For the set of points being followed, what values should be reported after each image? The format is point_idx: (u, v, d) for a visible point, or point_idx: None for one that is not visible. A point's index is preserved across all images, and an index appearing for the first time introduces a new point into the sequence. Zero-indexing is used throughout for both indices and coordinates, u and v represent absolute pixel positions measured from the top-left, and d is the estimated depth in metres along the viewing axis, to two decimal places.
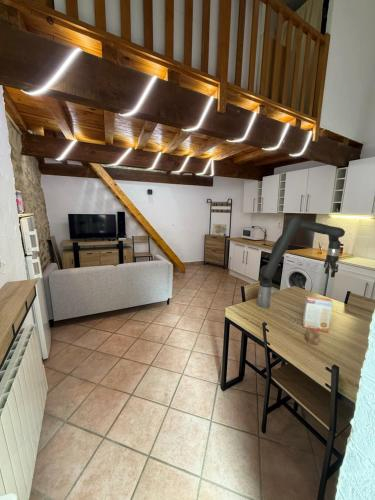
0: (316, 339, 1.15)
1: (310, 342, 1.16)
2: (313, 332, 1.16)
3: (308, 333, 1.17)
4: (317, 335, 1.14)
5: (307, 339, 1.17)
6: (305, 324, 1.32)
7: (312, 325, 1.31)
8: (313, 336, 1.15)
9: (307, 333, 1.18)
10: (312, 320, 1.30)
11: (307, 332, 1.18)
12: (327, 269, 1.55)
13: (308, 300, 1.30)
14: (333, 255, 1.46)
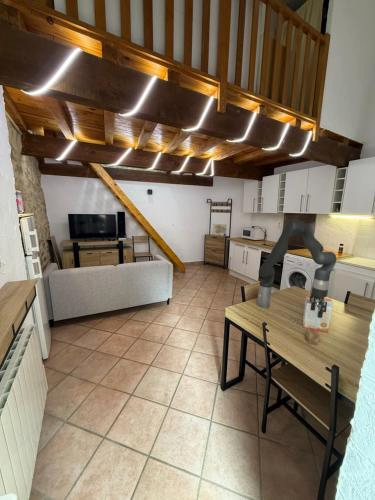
0: (316, 339, 1.15)
1: (310, 342, 1.16)
2: (313, 332, 1.16)
3: (308, 333, 1.17)
4: (317, 335, 1.14)
5: (307, 339, 1.17)
6: (305, 324, 1.32)
7: (312, 325, 1.31)
8: (313, 336, 1.15)
9: (307, 333, 1.18)
10: (312, 320, 1.30)
11: (307, 332, 1.18)
12: (313, 304, 1.18)
13: (308, 300, 1.30)
14: (320, 289, 1.09)
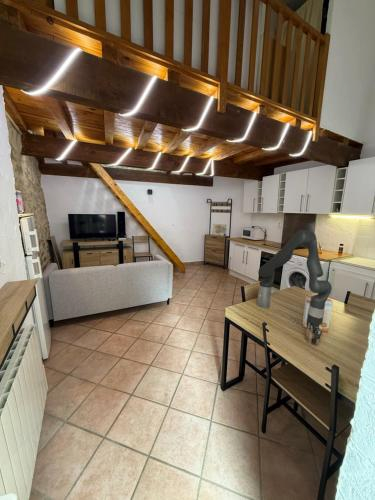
0: None
1: (310, 342, 1.16)
2: None
3: (308, 333, 1.17)
4: None
5: (307, 339, 1.17)
6: (305, 324, 1.32)
7: None
8: None
9: (307, 333, 1.18)
10: None
11: (307, 332, 1.18)
12: None
13: (308, 300, 1.30)
14: (316, 316, 1.12)
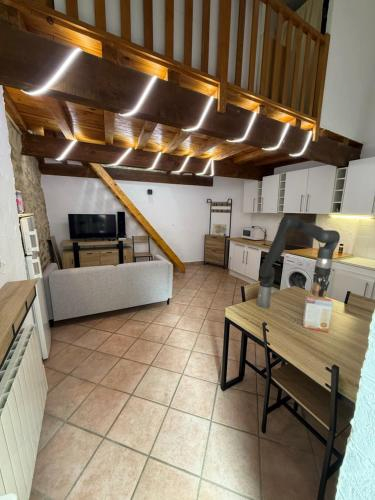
0: None
1: (317, 295, 1.14)
2: None
3: (315, 286, 1.15)
4: None
5: (314, 292, 1.15)
6: (305, 324, 1.32)
7: (312, 325, 1.31)
8: None
9: (314, 286, 1.16)
10: (312, 320, 1.30)
11: (314, 285, 1.16)
12: None
13: (308, 300, 1.30)
14: (323, 267, 1.09)
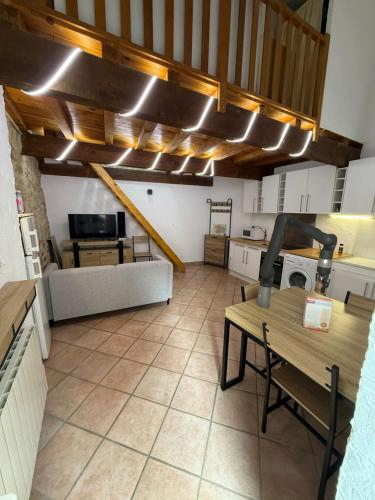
0: (325, 288, 1.26)
1: (319, 291, 1.26)
2: None
3: (317, 284, 1.28)
4: None
5: (317, 289, 1.28)
6: (305, 324, 1.32)
7: (312, 325, 1.31)
8: None
9: (316, 284, 1.29)
10: (312, 320, 1.30)
11: (316, 283, 1.29)
12: None
13: (308, 300, 1.30)
14: (324, 267, 1.22)
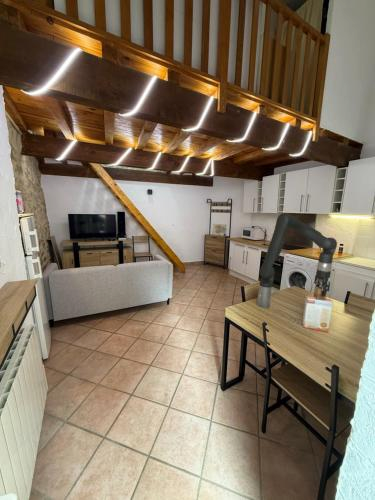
0: None
1: (318, 297, 1.27)
2: (321, 288, 1.27)
3: (316, 290, 1.28)
4: None
5: (316, 295, 1.29)
6: (305, 324, 1.32)
7: (312, 325, 1.31)
8: (321, 291, 1.26)
9: (315, 290, 1.30)
10: (312, 320, 1.30)
11: (315, 289, 1.30)
12: (318, 286, 1.32)
13: (308, 300, 1.30)
14: (324, 270, 1.23)
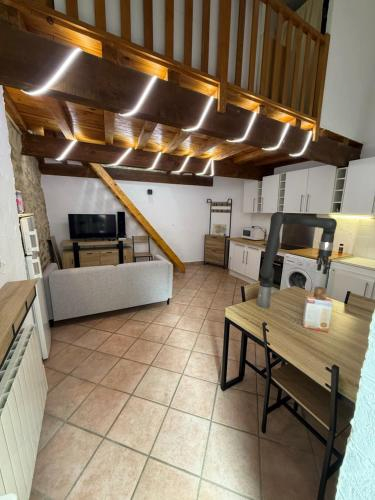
0: (324, 294, 1.26)
1: (318, 297, 1.27)
2: (321, 288, 1.27)
3: (316, 290, 1.28)
4: (325, 290, 1.26)
5: (316, 295, 1.28)
6: (305, 324, 1.32)
7: (312, 325, 1.31)
8: (321, 291, 1.26)
9: (315, 290, 1.29)
10: (312, 320, 1.30)
11: (315, 289, 1.30)
12: (319, 265, 1.38)
13: (308, 300, 1.30)
14: (325, 249, 1.29)
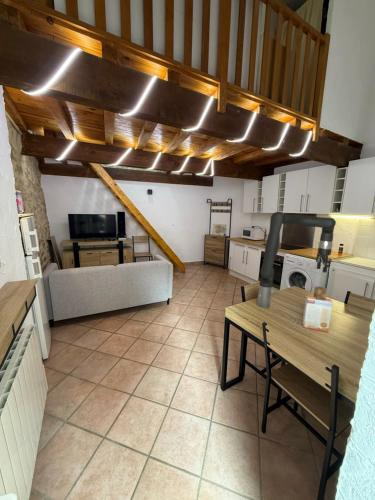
0: (324, 294, 1.26)
1: (318, 297, 1.27)
2: (321, 288, 1.27)
3: (316, 290, 1.28)
4: (325, 290, 1.26)
5: (316, 295, 1.28)
6: (305, 324, 1.32)
7: (312, 325, 1.31)
8: (321, 291, 1.26)
9: (315, 290, 1.29)
10: (312, 320, 1.30)
11: (315, 289, 1.30)
12: (319, 264, 1.42)
13: (308, 300, 1.30)
14: (325, 248, 1.32)
